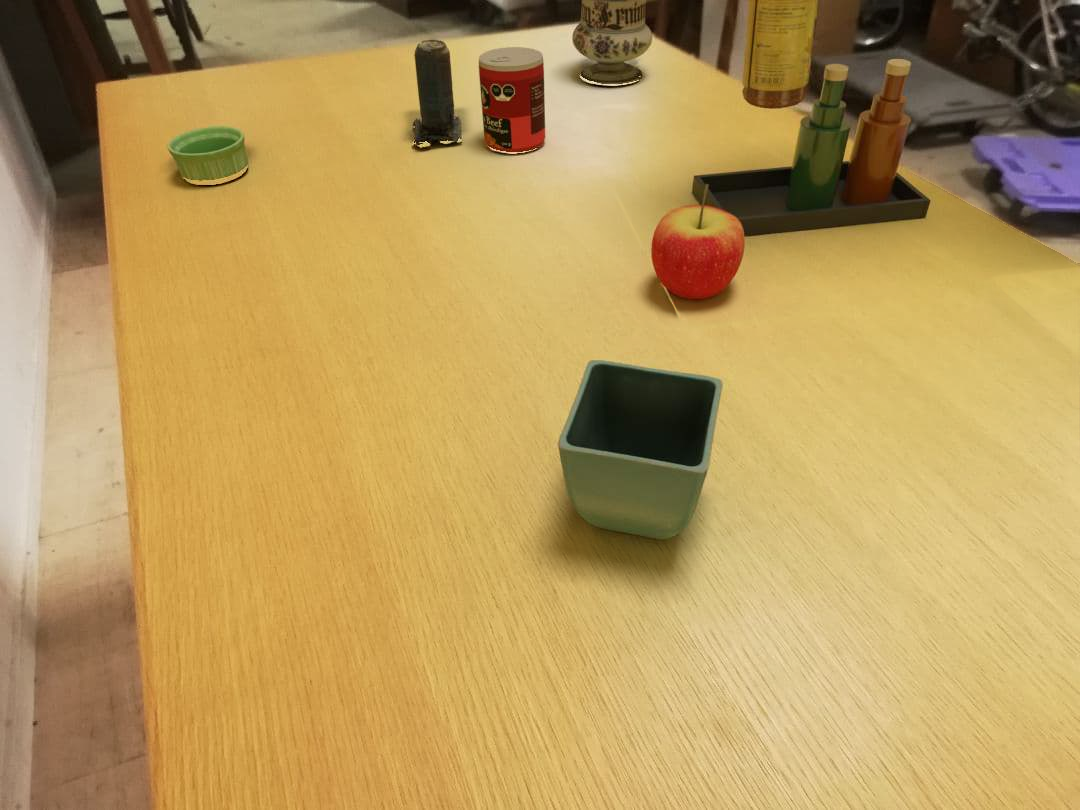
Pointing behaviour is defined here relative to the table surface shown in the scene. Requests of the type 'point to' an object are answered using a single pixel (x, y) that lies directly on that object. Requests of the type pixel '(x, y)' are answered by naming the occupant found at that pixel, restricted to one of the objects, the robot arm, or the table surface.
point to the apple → (697, 250)
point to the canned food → (512, 98)
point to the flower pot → (639, 447)
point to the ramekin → (209, 152)
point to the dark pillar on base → (435, 94)
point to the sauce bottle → (778, 51)
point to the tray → (766, 212)
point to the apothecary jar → (612, 39)
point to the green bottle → (820, 146)
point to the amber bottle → (879, 141)
